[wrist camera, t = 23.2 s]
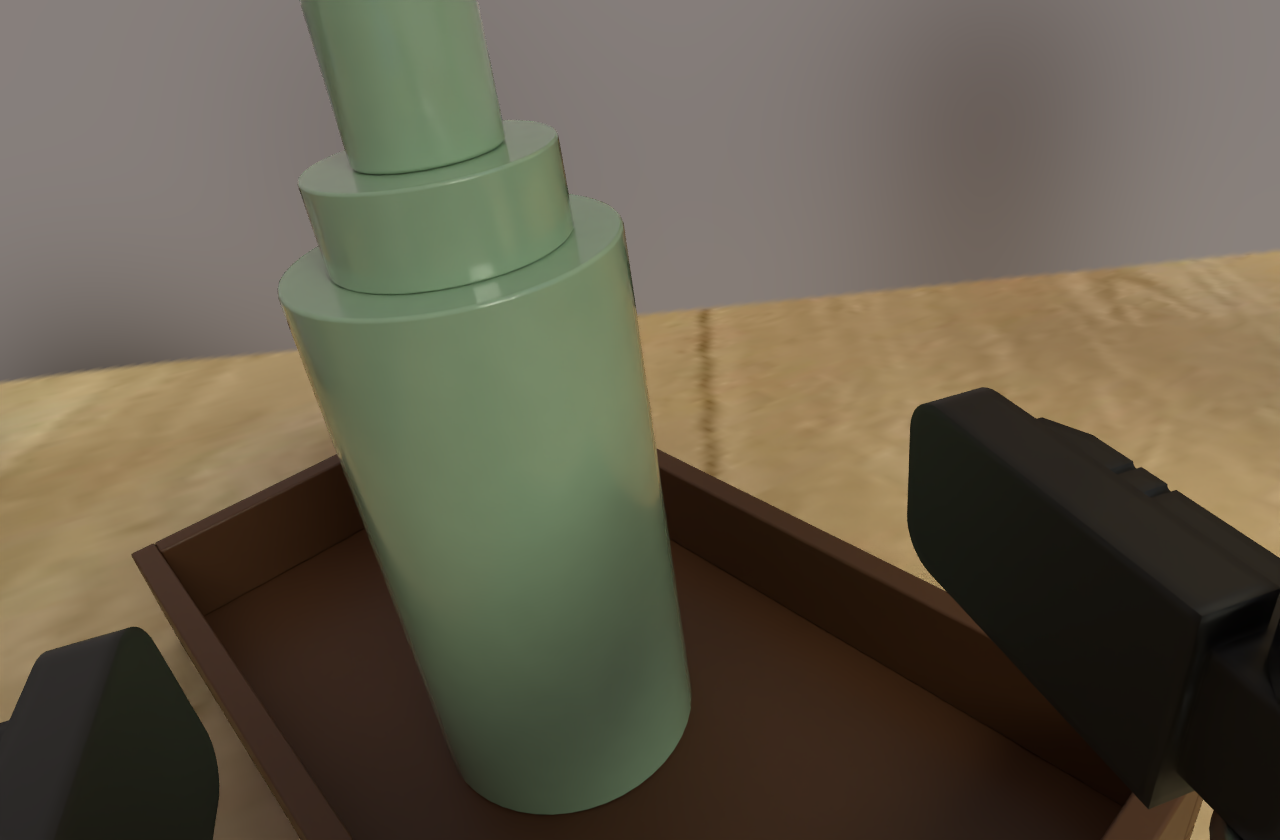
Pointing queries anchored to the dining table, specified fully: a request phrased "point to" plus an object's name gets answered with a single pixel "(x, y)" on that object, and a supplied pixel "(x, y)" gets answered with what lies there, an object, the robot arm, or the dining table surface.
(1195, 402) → the dining table surface
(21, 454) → the dining table surface
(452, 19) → the sage bottle
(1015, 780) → the tray
